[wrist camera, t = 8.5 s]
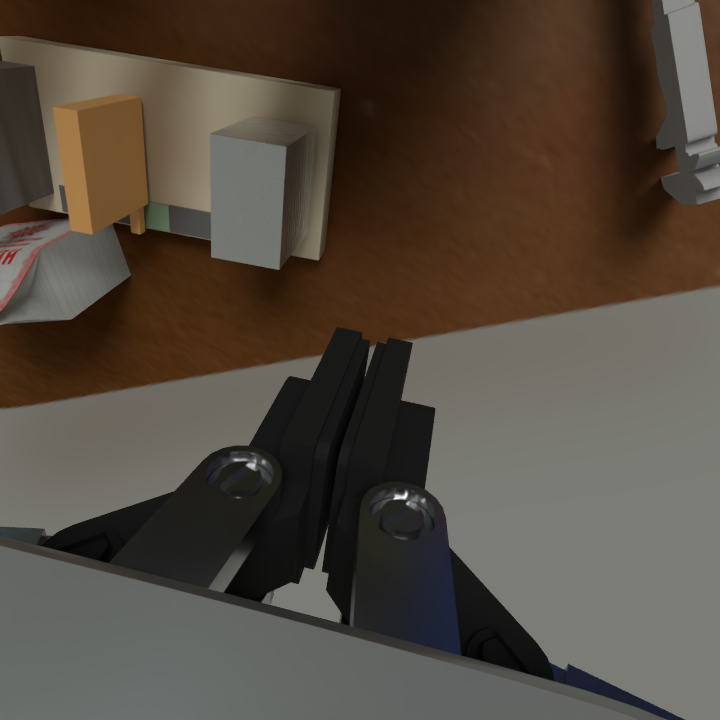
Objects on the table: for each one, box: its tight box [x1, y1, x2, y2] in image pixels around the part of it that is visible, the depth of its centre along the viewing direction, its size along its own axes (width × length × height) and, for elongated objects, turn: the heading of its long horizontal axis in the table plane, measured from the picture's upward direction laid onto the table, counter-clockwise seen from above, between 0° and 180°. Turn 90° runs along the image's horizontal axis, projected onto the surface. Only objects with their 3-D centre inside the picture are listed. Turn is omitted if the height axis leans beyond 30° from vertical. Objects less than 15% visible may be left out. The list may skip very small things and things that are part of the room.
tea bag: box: [0, 218, 131, 325], centre depth 29 cm, size 4×7×10 cm, turn 98°
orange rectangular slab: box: [53, 94, 148, 235], centre depth 26 cm, size 1×6×5 cm, turn 172°
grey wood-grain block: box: [210, 116, 317, 270], centre depth 25 cm, size 3×5×5 cm, turn 173°
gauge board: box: [0, 36, 341, 260], centre depth 26 cm, size 16×8×7 cm, turn 83°
